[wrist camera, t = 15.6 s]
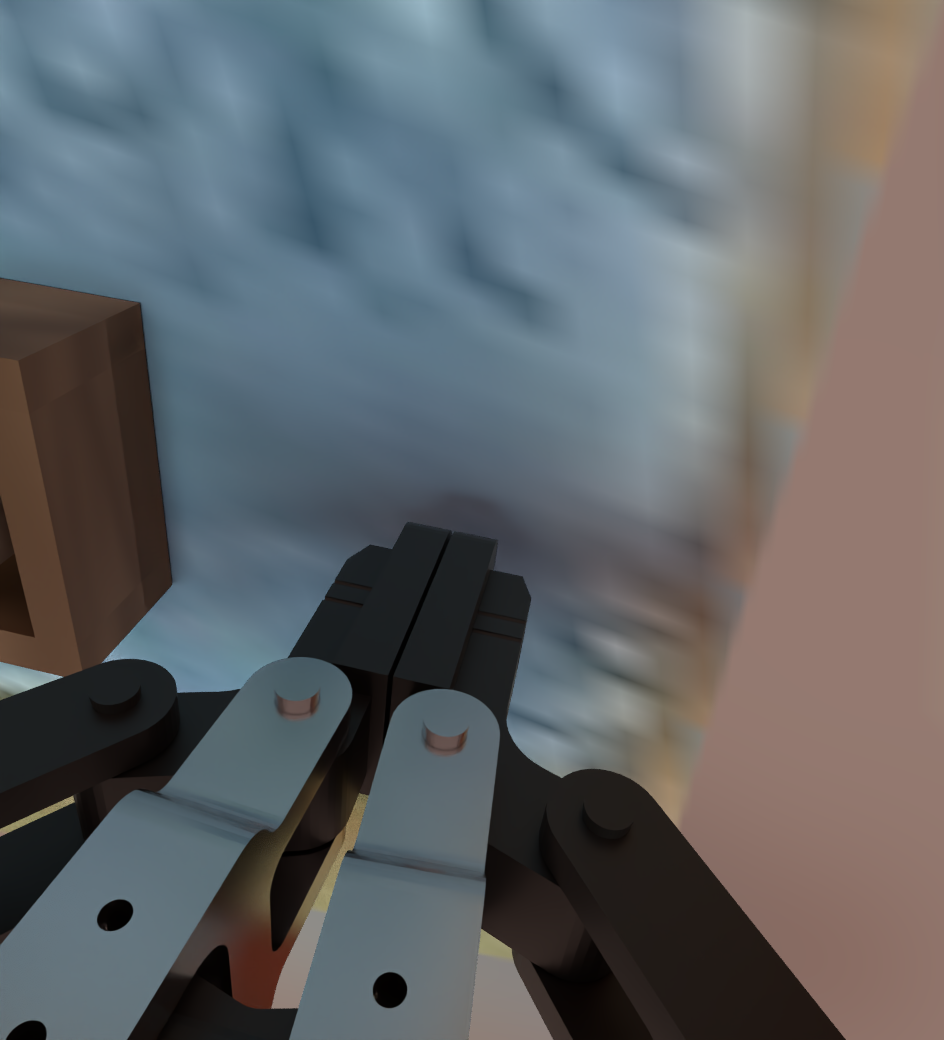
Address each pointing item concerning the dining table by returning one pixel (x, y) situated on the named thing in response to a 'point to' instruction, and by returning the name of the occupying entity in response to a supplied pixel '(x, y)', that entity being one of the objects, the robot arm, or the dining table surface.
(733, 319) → the dining table surface
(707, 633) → the dining table surface
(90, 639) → the tray
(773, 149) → the dining table surface
